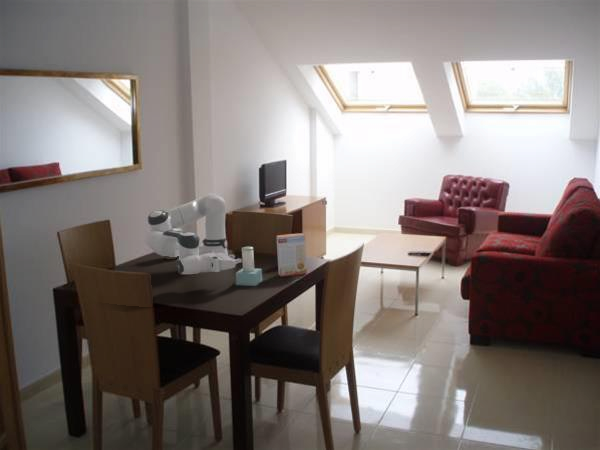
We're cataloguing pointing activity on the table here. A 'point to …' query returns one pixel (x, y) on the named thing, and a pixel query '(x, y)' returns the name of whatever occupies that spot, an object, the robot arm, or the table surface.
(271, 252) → the table surface
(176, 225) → the robot arm
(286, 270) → the cracker box
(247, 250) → the canister
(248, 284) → the plinth
